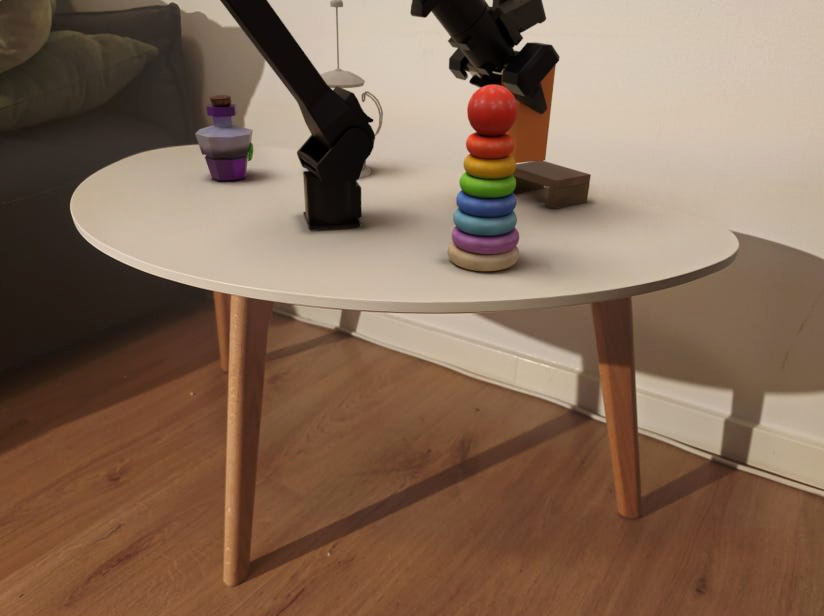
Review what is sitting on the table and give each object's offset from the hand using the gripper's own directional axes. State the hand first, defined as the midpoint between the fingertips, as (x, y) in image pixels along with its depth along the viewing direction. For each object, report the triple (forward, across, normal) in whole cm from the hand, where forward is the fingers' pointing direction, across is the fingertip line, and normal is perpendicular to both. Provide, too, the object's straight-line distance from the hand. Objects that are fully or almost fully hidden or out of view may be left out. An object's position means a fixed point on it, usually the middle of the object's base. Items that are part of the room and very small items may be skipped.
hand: (533, 108), depth 95 cm
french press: (-4, +24, +22) cm, 33 cm away
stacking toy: (-4, -20, +22) cm, 30 cm away
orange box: (+4, 0, +6) cm, 7 cm away
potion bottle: (-17, +27, +35) cm, 47 cm away
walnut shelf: (+12, 0, +6) cm, 13 cm away
